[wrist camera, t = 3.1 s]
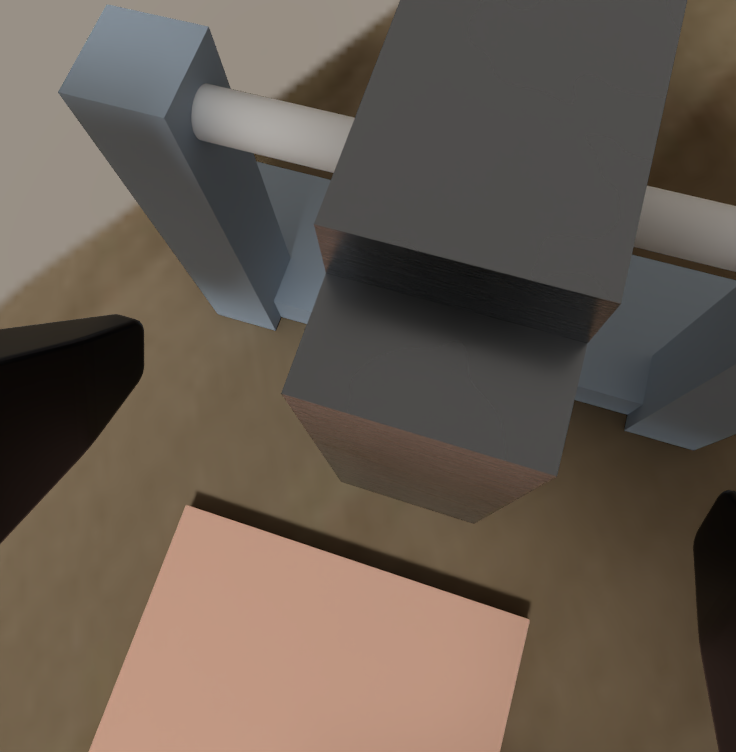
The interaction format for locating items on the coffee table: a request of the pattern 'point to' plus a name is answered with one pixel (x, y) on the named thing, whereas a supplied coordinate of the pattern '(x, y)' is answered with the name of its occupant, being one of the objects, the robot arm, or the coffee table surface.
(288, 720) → the terracotta mat
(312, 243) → the rail stand
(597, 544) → the coffee table surface
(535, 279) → the gray block
